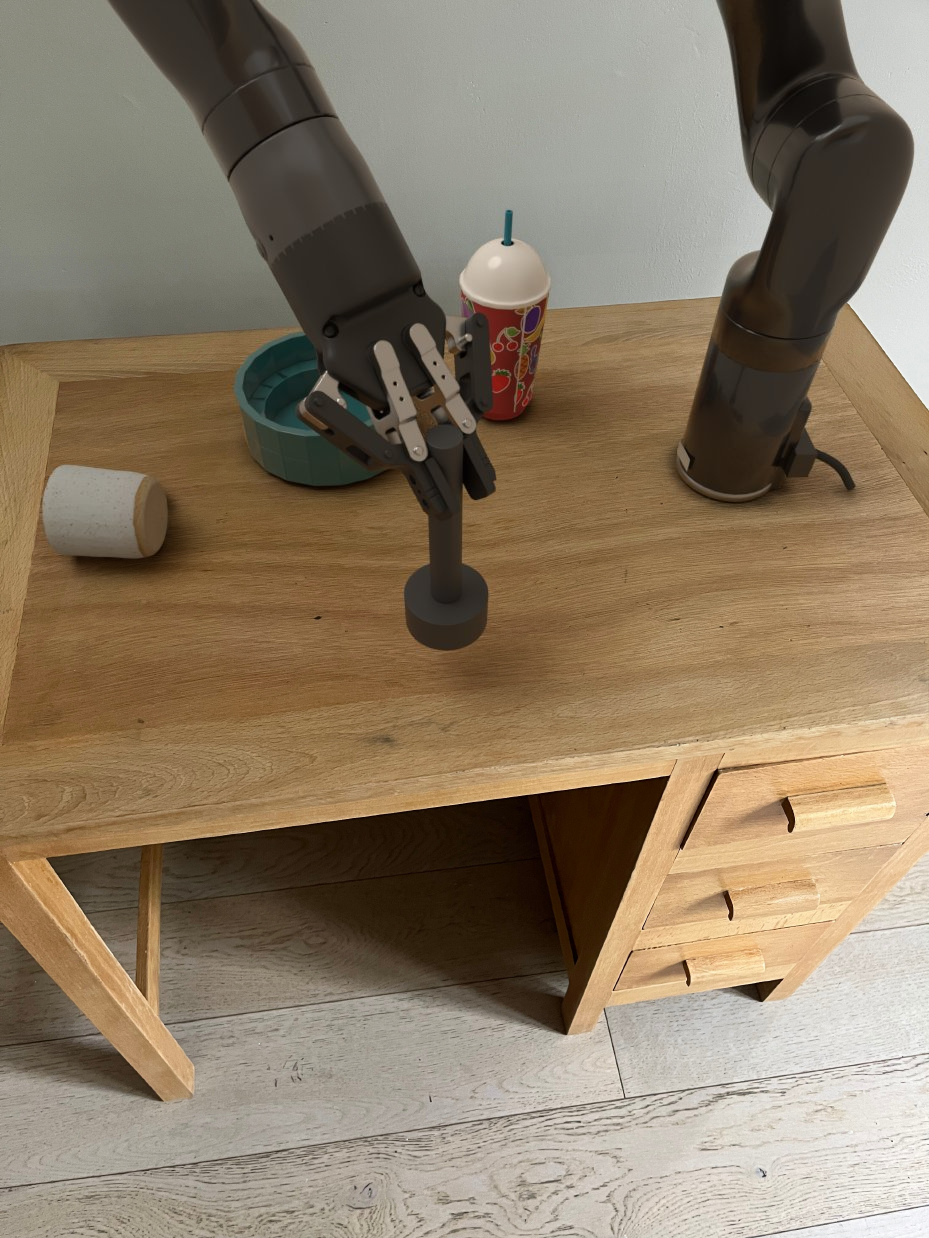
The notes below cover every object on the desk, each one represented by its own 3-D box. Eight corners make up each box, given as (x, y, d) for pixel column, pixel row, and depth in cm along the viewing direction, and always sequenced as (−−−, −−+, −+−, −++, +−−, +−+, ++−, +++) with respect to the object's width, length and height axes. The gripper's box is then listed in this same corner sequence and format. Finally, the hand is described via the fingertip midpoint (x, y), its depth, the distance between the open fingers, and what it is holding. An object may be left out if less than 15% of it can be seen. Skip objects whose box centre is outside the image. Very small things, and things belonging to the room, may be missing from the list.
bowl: (413, 380, 91) (411, 326, 86) (417, 488, 81) (415, 433, 75) (255, 384, 90) (243, 329, 85) (238, 493, 80) (224, 438, 75)
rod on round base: (484, 585, 65) (491, 402, 52) (490, 649, 61) (500, 469, 48) (405, 588, 65) (392, 405, 52) (406, 652, 61) (392, 472, 48)
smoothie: (555, 411, 88) (578, 218, 72) (488, 440, 85) (497, 246, 69) (507, 370, 92) (519, 180, 77) (442, 396, 89) (441, 204, 74)
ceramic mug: (157, 576, 73) (132, 510, 67) (62, 573, 73) (28, 507, 67) (187, 493, 80) (166, 426, 74) (99, 490, 80) (71, 422, 74)
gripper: (235, 247, 42) (404, 556, 46) (450, 164, 48) (584, 445, 52) (204, 300, 49) (354, 567, 52) (396, 222, 54) (518, 467, 58)
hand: (467, 505), depth 52 cm, fingers closed on rod on round base
